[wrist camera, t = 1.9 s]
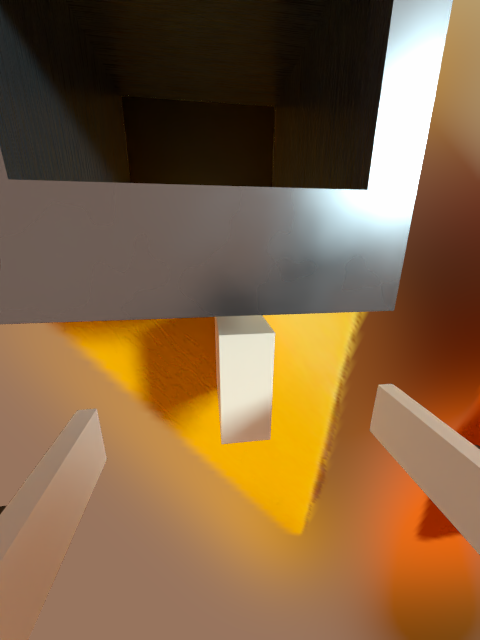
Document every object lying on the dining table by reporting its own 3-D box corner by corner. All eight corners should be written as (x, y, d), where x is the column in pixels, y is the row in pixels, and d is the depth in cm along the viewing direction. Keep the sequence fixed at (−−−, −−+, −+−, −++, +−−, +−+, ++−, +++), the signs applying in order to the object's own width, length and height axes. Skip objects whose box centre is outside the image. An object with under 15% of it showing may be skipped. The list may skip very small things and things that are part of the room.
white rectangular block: (214, 301, 21) (219, 335, 13) (250, 300, 21) (275, 332, 13) (216, 376, 23) (221, 444, 15) (249, 374, 23) (270, 439, 15)
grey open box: (289, 89, 17) (514, -322, 5) (280, 269, 20) (393, 310, 8) (101, 75, 15) (-311, -590, 3) (127, 271, 19) (-19, 324, 7)
